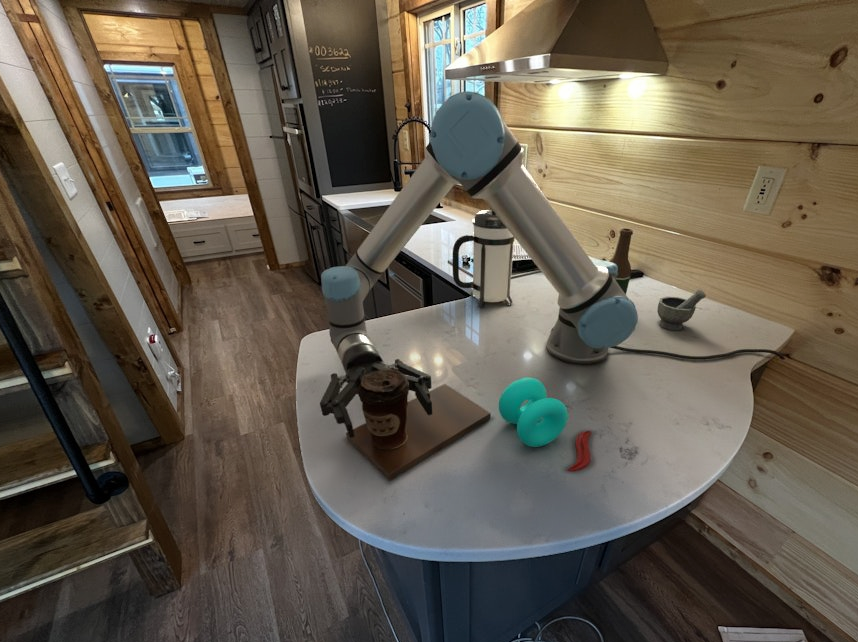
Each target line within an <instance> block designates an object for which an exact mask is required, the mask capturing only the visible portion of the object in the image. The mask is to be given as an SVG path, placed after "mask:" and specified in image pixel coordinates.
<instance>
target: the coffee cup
mask: <svg viewBox="0 0 858 642" xmlns="http://www.w3.org/2000/svg"><path fill="white" fill-rule="evenodd" d="M409 391H410V390H409V382H408V380H407V379H405V376H404V375H403V374H402V373H401V372H399V371H396V370H390V369H389V370H379V371H376V372H373V373H369V374H367V375H365V376H364V377H363V378H362V380H361V384H360V385H359V388H358V394H357V396H358V397H359V401H360V402H361V403H362V405H361V406H362V408H361V409H362V413H363V416H364V420H365V423H366V425H367V428H368V430H369V431H370V432H371V439H372V443H373V445H374V446H376V447H378V448H380V449H393V448H398V447H399V446H401V445H403V444H405V441H406V440H407V437H408V436H407V433H406V431H405V426H406V420H407V418H408V402H409V401H408V400H409V399H408V398H409V397H408V395H409Z"/></svg>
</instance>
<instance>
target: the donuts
mask: <svg viewBox="0 0 858 642" xmlns="http://www.w3.org/2000/svg"><path fill="white" fill-rule="evenodd" d="M525 402H526V403H525ZM524 403H525V404H524ZM523 404H524V405H523ZM498 412H499V414H500V416H501V418H502V419H503V420H504V421H506V422H508V423H509V424H513V425H516V434H517V437H518V439H519V440H520V442H521V443H523V445H526V446H527V447H530V448H531V447H533V448H537V447H543V446H546V445H548V444H550V443H552V442H553V441H554V440H556V439H557V438H558V437H559V436H560V435H561V434H562V432H563V431H564V430H565V428H566V425H567V422H568V418H569V414H568V408H567V407H566V405H565V404H564V403H563V402H562V401H561V400H560V399H557V398H554V397H547V390H546V387H545V385H544V384H543V383H542V381H540V380H539V379H538V378H534V377H522V378H518V379H517V380H514V381H513V382H511V383H510V384H509V385H508V386H507V387H506V388H505V389H504V390H503V392H502V393H501V395H500V398H499V401H498Z"/></svg>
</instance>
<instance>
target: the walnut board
mask: <svg viewBox="0 0 858 642" xmlns="http://www.w3.org/2000/svg"><path fill="white" fill-rule="evenodd" d="M429 391H430V400H431V402H432V415H428V414H427V413H426V411H425V410H424V408H423V407H422V405H421V403H420V402H419V400H418V399H417V397H415V398H413V399H411V400H409V401H407V402H408V418H407V420H406V426H405V431H406V433H407V436H408V437H407V440H406V441H405V444H403V445H401V446H399V447H398V448H393V449H380V448H378V447H376V446H374V445H373V443H372V439H371V432H370V431H369V430H368V428H367V425H366V422H365V423H363V424H361V425H359V426H357V427H355V428H353V432H354V437H352V438H350V437H349V435H348V432H347V431H346V432H345V434H346V439H347V440H348V441H349V442H350V443H351V444H352V445H353V447H355V449H356V450H358V451H359V452H360V453H361V454H362V455H363V457H365V458H366V460H368V461H369V462H370V463H371V464H372V465H373V466H374V467H375V468H376V469H377V470H378V471H379V472H380V473H381V474H382V475H383V477H385V478H386V479H387V480H388V481H392V480H393V479H395V478H396V477H399V476H400V475H401V474H404V473H405V472H407V471H408V470H410V469H411V468H413V467H415V466H416V465H418V464H419V463H422V462H423V461H424V460H426V459H427V458H430V457H431V456H432V455H434V454H436V453H437V452H439V451H441V450H442V449H444V448H445V447H447V446H448V445H450V444H451V443H453V442H455V441H457V440H458V439H461V438H462V437H463V436H465V435H467V434H468V433H469V432H471V431H474V430H475V429H477V428H479V426H481V425H483V424H484V423H486V422H488V421H489V420H491V412H490V411H488V410H486V409H485V408H484V407H482V406H480V404H477V403H475V402H474V401H473V400H471V399H470V398H468V397H466V396H465V395H463V394H462V393H461V392H458V391H457V390H455V389H454V388H452V387H451V386H449V385H447V383H444V384H441V385H439V386H437V387H436V388H433V389H431V390H429Z"/></svg>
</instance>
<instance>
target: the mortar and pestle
mask: <svg viewBox="0 0 858 642" xmlns="http://www.w3.org/2000/svg"><path fill="white" fill-rule="evenodd" d="M706 297H707V294H706V293H705V291H704V290H702V289H696V290H695V292H694V293H693V294H692V295H691V296H690V297H688V298H687V299H686V298H682V297H679V296H664V297H660V298H659V301H658V304H657V315H658V317H659V319H660V321H659V324H658V325H659V326H661V327H662V328H664V329H667V330H670V331H679V330H682V328H683V324H684V323H686V322H689V320H691V319H692V317H693V316H694V313H695V311H696V306H697V304H698V303H699V302H700V301H702V300H703V299H705V298H706Z"/></svg>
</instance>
